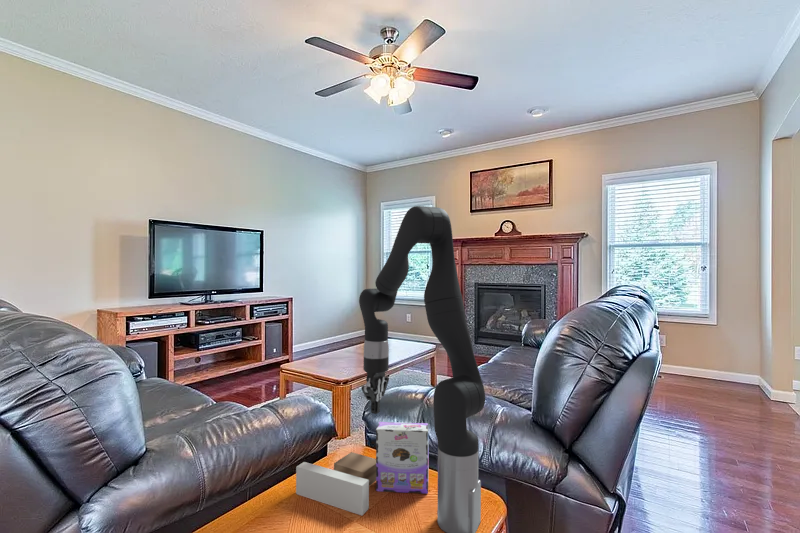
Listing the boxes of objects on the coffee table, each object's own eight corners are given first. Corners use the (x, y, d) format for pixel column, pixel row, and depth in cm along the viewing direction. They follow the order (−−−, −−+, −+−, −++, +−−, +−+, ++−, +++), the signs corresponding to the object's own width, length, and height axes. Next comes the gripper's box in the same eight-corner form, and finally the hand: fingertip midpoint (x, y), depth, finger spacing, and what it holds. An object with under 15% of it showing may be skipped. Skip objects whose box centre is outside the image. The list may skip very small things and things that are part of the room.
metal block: (380, 478, 111) (380, 460, 111) (363, 491, 104) (363, 472, 104) (351, 469, 116) (351, 451, 116) (333, 481, 109) (333, 463, 109)
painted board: (368, 508, 97) (368, 479, 97) (362, 515, 94) (362, 485, 94) (303, 488, 105) (304, 461, 106) (296, 493, 103) (296, 466, 103)
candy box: (428, 482, 109) (429, 422, 109) (428, 495, 103) (428, 431, 103) (378, 479, 110) (379, 420, 110) (375, 491, 104) (375, 428, 104)
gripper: (375, 360, 112) (375, 422, 112) (397, 352, 124) (396, 408, 124) (353, 357, 115) (352, 417, 115) (376, 349, 127) (375, 404, 127)
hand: (375, 412), depth 119 cm, fingers closed
